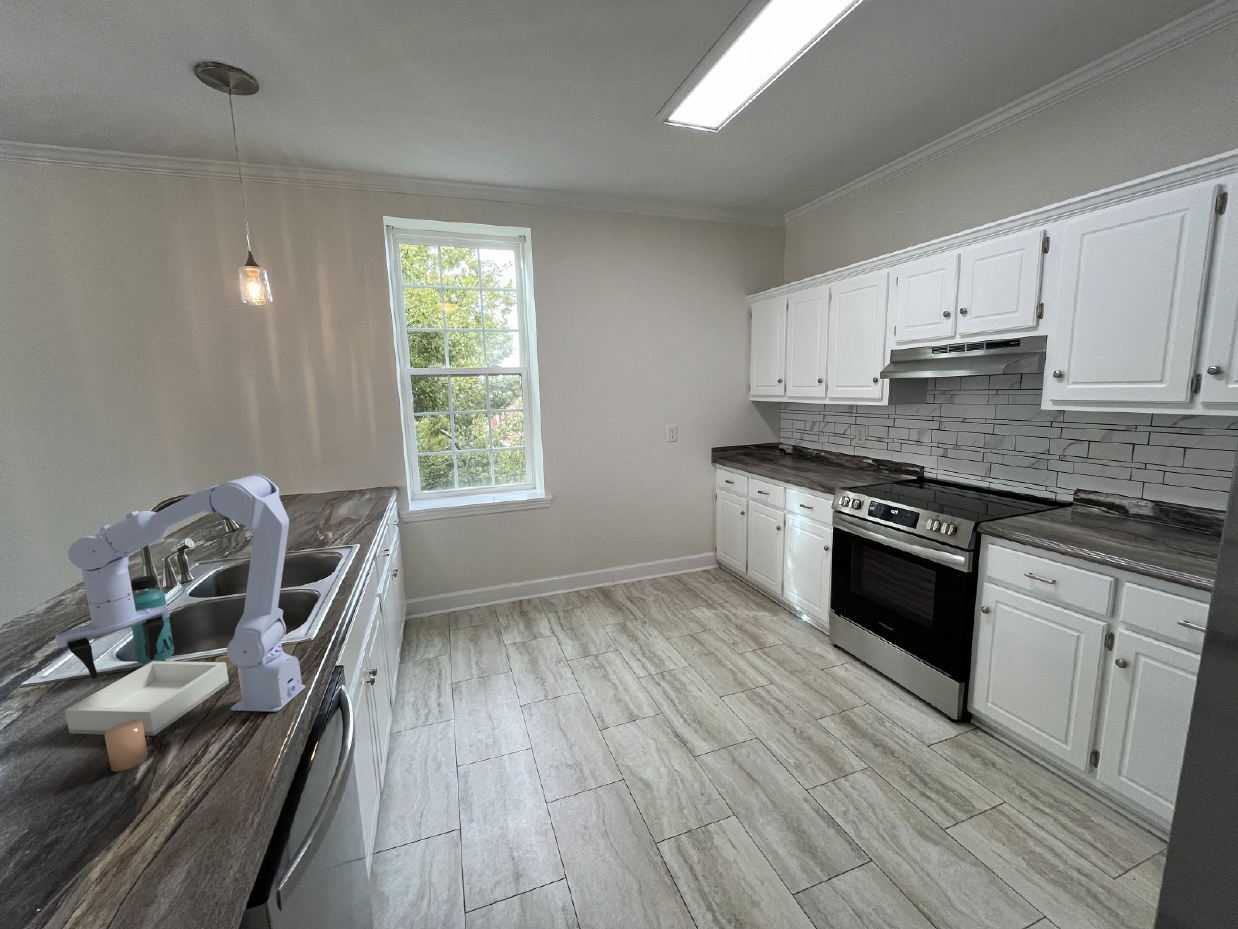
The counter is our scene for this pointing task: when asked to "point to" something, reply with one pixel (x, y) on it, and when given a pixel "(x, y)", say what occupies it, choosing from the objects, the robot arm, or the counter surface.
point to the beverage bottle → (141, 602)
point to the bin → (148, 697)
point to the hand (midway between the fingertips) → (123, 667)
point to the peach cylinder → (126, 745)
